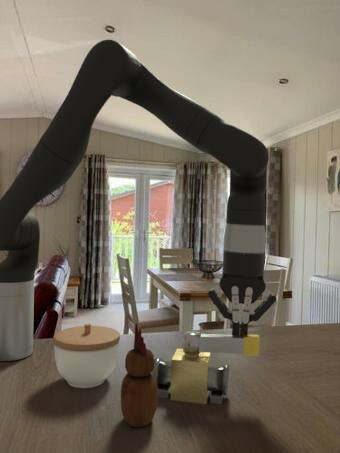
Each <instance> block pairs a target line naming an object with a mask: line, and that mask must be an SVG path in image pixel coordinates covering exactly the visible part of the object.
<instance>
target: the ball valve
mask: <svg viewBox="0 0 340 453" xmlns="http://www.w3.org/2000/svg"><path fill="white" fill-rule="evenodd" d="M211 355H212V353H211V352H201V353H199V354H195V355H190V354H186V353H184V352H183V348H176V350H175V353H174V354H173V356H172V357H171V360H164V359H163V358H162V357H154V359H155V364H154V369H153V371H152V372H151V373H152V374H153V375H154V377H155V379H156V382H157V398H163V399H165V398H166V399H168V398H169V397H170V401H177V402H183V403H184V402H185V403H192V404H203V405H207V404H208V399H209V394H210V404H216V405H223V399H224V398H223V397H224V396H227V397H228V396H229V393H230V391H229V389H230V364H225V363H224V364H223V365H214V364H213V365H212V364H211V360H212V358H211Z"/></svg>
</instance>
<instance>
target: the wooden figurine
mask: <svg viewBox="0 0 340 453" xmlns="http://www.w3.org/2000/svg"><path fill="white" fill-rule="evenodd" d="M133 341H134V342H133V348H132V349H130V350H129V351H128V352H127V354H126V356H125V362H124V363H125V364H124V367H125V371H126V374H125V375H124V377H123V379H122V380H121V387H120V408H121V414H122V417H123V420H124V421H125V422H126V424H127V425H129V426H131V427H134V428H135V427H136V428H140V427H141V428H142V427H146V426H147V425H149V424H150V423H152V421H153V420H154V417H155V414H156V411H157V406H158V405H157V404H158V397H157V382H156V379H155V377H154V375H153V374H152V371H153V369H154V364H155V355H154V353H153V352H152V350H150V349H148V348H147V345H146V344H147V343H145V341H144V336H142V328H139V326H138V323H137V322H136V323H135V329H134V340H133Z"/></svg>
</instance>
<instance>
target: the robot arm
mask: <svg viewBox="0 0 340 453" xmlns="http://www.w3.org/2000/svg"><path fill="white" fill-rule="evenodd" d="M112 96H113V97H116V98H117V97H119V98H120V99H123V100H126V101H128V102H130V103H133V104H134V105H137V106H139V107H141V108H143V109H144V110H145V111H147V112H149V113H150V114H152V115H153V116H154V117H156V119H158V120H159V121H160V122H162V123H163V124H164V125H165V126H166V127H167V128H169V129H170V130H171V131H173V133H174V134H175V135H177V136H179V137H180V138H181V139H183V140H184V141H185V142H187V143H188V144H190V146H193V147H194V148H196V149H197V150H199V151H200V152H202V153H204V154H206V155H210V156H212V157H213V158H214V159H215V160H216V161H218V162H220V163H221V164H223V165H224V166H225V167H227V168H228V169H229V196H228V198H227V205H226V218H225V220H226V221H225V222H226V224H225V230H224V236H223V256H222V274H221V275H222V276H221V278H220V280H219V281H218V285H216V286H215V287H213V288H210V289H209V290H208V292H207V295H208V297H209V298H210V299H211V301H212V303H213V304H214V306H215V307H216V308H217V310H218V311H219V313H220V314H221V315H222V317H223V318H224V319H226V320H229V321H231V323H232V324H231V325H232V326H231V327H232V328H231V335H243V334H247V335H249V333H248V332H249V323H251V322H257V321H260V319H261V318H262V317H263V315H264V314H266V312H267V311H268V310H269V309H270V308H271V307H272V306H273V304H275V302H277V295H276V294H275V293H274V292H271V291H270V290H268V288H267V285H266V281H265V279H264V278H265V277H264V274H265V256H266V255H265V253H266V230H265V229H266V228H265V227H266V224H265V223H266V197H265V190H266V181H267V171H268V164H269V151H268V148H267V147H266V145H265V144H264V142H262V141H261V140H259V139H258V138H257V137H255V136H254V135H252V134H250V133H249V132H247V131H244V130H243V129H241V128H239V127H237V126H235V125H232V124H230V123H228V122H227V121H225V120H224V119H222V118H221V117H220V116H219V115H217V114H216V113H214V112H213V111H211V110H210V109H208V108H207V107H205V106H203V105H202V104H200V103H199V102H197V101H195V100H193V99H192V98H190V97H188V96H186V95H184V94H182V93H181V92H179V91H177V90H175V89H174V88H172V87H170V86H168V85H167V84H166V83H165V82H163V81H162V80H161V79H159V78H158V77H157V76H156V75H154V73H153V72H151V71H150V70H149V69H148V68H147V67H146V65H144V64H143V63H142V62H141V61H140V60H139V58H138V57H137V56H136V55H135V54H134V53H133V52H132V51H131V50H129V49H128V48H127V47H126V46H124V45H122V44H121V43H119V41H117V40H113V39H104V40H100V41H99V42H97V43H96V44H95V45H93V46H92V47H91V49H90V50H89V51H88V52H87V54H86V56H85V57H84V60H83V62H82V64H81V65H80V68H79V70H78V72H77V74H76V76H75V78H74V80H73V83H72V85H71V86H70V89H69V91H68V93H67V95H66V96H65V99H64V100H63V102H61V105H60V106H59V108H58V109H57V112H56V113H55V115H54V117H53V118H52V120H51V122H50V123H49V125H48V127H47V128H46V130H44V131H45V132H44V133H43V134H42V135H41V137H40V138H39V140H38V142H37V144H36V145H35V147H34V149H33V150H32V152H31V153H30V155H29V156H28V159H27V160H26V162H25V164H24V165H23V166H22V168H21V170H20V171H19V173H18V174H17V176H16V178H14V180H13V182H12V183H11V184H10V186H9V188H7V190H6V191H5V193H4V194H3V195H2V197H1V198H0V252H1V251H4V252H7V255H6V257H5V259H4V260H2V261H1V262H0V362H10V361H17V360H21V359H25V358H28V357H30V356H31V355H33V351H34V348H33V347H34V314H35V311H34V306H35V305H34V304H35V303H34V302H35V273H36V269H37V268H38V266H39V265H38V264H39V253H40V241H41V240H40V238H41V228H40V223H39V220H38V217H37V216H36V215H35V213H33V212H31V210H32V209H33V208H34V207H35V206H36V205H37V204H38V203H40V202H41V201H42V200H44V199H45V198H47V197H48V196H50V195H51V194H53V193H54V192H55V191H57V190H58V189H60V188H61V187H62V186H63V185H65V184H66V183H67V182H68V181H69V179H70V178H72V176H73V174H74V173H75V171H76V170H77V169H78V167H79V166H80V164H81V162H82V161H83V159H84V157H85V155H86V153H87V149H88V146H89V142H90V137H91V132H92V129H93V128H92V127H93V124H94V122H95V120H96V118H97V116H98V115H99V113H100V111H101V110H102V108H103V107H104V105H106V103H107V102H108V100H109V99H110V98H111V97H112ZM222 292H223V293H224V295H225V297H226V299H227V300H228V302H230V303H231V308H232V309H231V310H230V309H229V308H228V306H227V304H225V302H224V300H223V299H222V295H223V293H222ZM262 294H263V295H262ZM261 296H262V297H261ZM259 297H261V299H262V301H261V303H260V304H259V305H258V306H257V307H256V308H255V309H254V310H253V312H251V305H252V304H253V305H254V303H256V302H257V300H259ZM240 304H242V314H241V320H240Z"/></svg>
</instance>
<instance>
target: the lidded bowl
mask: <svg viewBox="0 0 340 453" xmlns="http://www.w3.org/2000/svg"><path fill="white" fill-rule="evenodd" d="M120 339H121V334H120V332H119V331H118V330H117V329H114V328H112V327H108V326H102V325H101V326H100V325H92V324H91V323H85V324H84V325H78V326H72V327H68V328H64V329H62V330H60V331H57V332H56V333H55V334H54V335H53V344H54V360H55V365H56V368H57V371H58V373H59V375H60V376H61V377H62V379H64V380H66V382H67V384H68V385H69V386H70V387H73V388H77V389H91V388H95V387H99V386H101V385H102V384H104V383H105V381H106V379H108V377H110V375H111V374H112V372H113V371H114V369H115V367H116V365H117V362H118V361H117V360H118V357H119V350H120Z"/></svg>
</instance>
